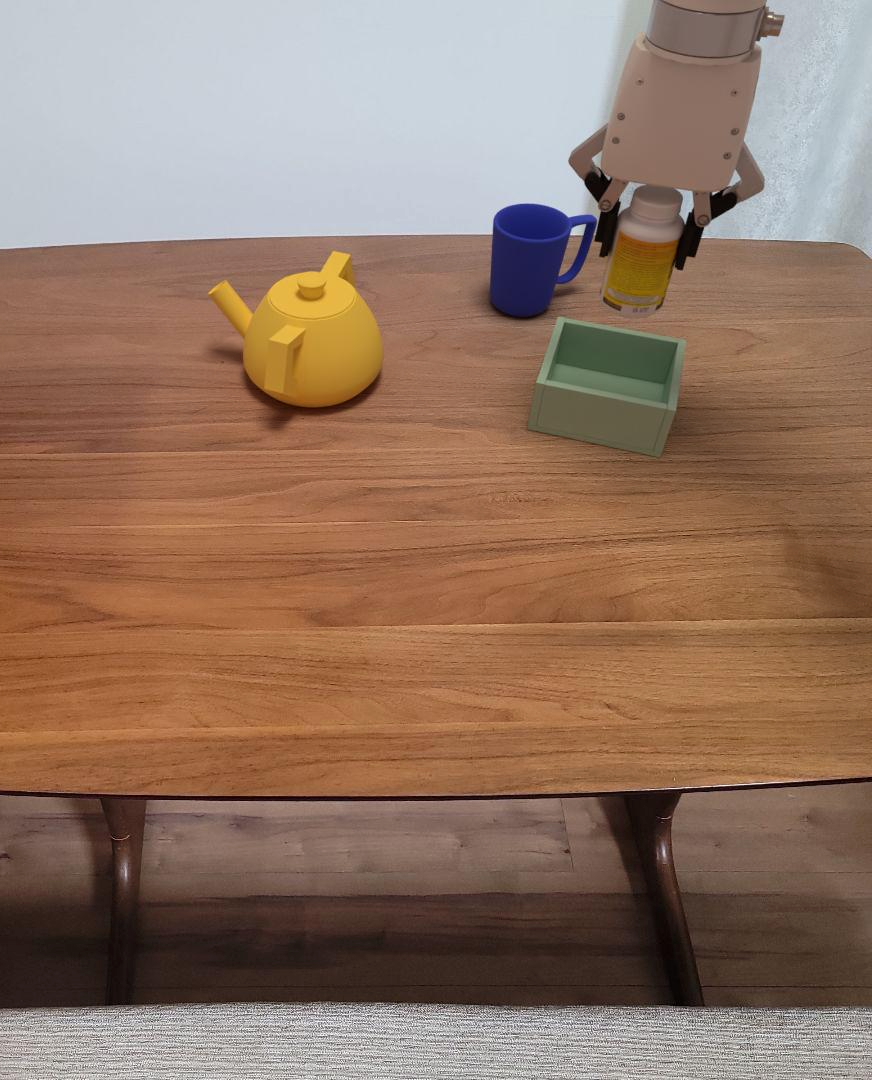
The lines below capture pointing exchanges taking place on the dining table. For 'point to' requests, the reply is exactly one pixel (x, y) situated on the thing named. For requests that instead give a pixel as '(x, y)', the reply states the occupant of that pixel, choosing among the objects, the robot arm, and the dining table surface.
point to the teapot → (308, 336)
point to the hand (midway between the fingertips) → (642, 254)
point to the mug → (532, 256)
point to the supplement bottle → (643, 253)
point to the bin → (608, 386)
